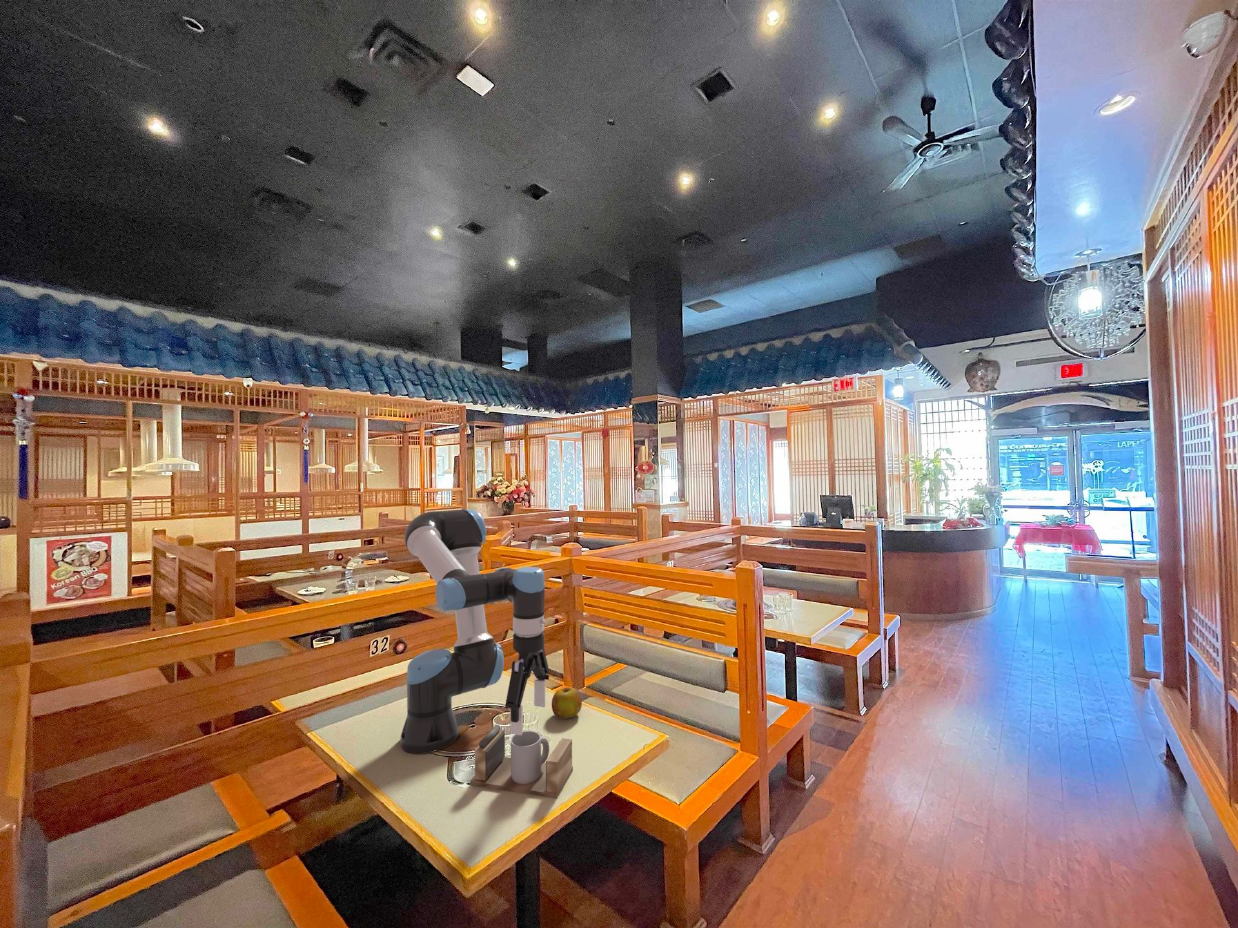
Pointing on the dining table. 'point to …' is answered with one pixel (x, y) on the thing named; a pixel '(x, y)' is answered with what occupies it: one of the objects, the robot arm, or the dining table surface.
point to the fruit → (566, 703)
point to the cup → (527, 756)
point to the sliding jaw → (489, 753)
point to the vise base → (545, 785)
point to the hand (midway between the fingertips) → (528, 719)
